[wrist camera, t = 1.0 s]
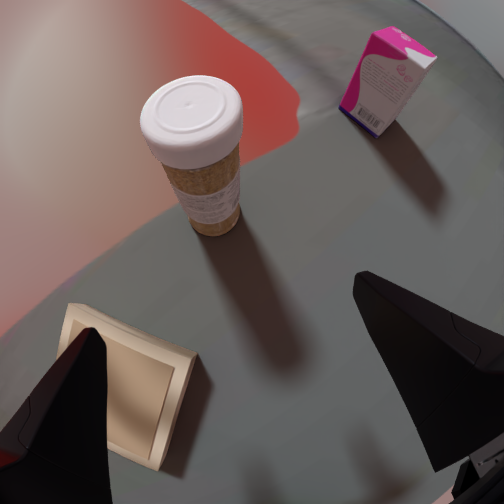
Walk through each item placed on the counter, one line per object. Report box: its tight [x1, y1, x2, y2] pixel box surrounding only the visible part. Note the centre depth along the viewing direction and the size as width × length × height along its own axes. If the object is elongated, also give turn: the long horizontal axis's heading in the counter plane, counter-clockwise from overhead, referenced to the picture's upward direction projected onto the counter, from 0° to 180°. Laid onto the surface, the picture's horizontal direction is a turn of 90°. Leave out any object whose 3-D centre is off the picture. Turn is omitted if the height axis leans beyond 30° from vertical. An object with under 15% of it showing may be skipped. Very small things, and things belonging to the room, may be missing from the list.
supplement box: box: [339, 26, 437, 139], centre depth 21 cm, size 6×6×12 cm
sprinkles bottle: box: [140, 75, 243, 236], centre depth 16 cm, size 5×5×13 cm
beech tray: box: [56, 303, 197, 471], centre depth 18 cm, size 11×11×3 cm
